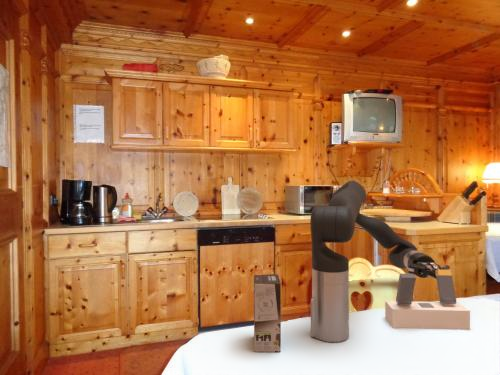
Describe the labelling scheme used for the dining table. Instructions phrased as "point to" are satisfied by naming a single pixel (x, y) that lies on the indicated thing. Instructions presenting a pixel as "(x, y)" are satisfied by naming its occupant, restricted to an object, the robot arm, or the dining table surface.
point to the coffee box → (267, 313)
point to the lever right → (445, 287)
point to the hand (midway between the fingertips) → (441, 276)
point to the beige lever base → (427, 315)
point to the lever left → (405, 289)
